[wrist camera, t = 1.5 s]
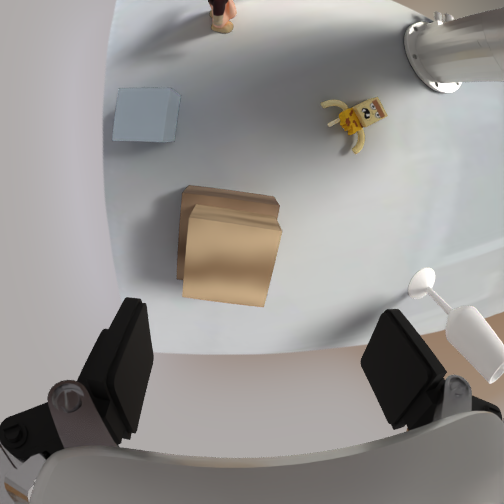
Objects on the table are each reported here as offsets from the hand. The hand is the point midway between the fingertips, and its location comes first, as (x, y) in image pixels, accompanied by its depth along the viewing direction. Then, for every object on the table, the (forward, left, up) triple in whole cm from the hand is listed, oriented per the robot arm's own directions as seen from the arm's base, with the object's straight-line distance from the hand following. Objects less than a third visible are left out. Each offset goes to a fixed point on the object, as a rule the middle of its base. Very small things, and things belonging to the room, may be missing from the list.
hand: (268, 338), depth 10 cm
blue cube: (-9, -12, -27) cm, 31 cm away
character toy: (-13, +11, -28) cm, 32 cm away
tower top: (+6, -1, -22) cm, 23 cm away
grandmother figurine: (-24, -6, -27) cm, 36 cm away
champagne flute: (+10, +35, -27) cm, 45 cm away
